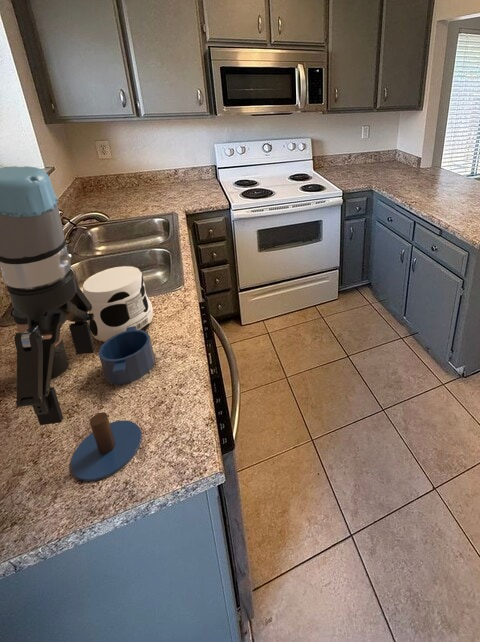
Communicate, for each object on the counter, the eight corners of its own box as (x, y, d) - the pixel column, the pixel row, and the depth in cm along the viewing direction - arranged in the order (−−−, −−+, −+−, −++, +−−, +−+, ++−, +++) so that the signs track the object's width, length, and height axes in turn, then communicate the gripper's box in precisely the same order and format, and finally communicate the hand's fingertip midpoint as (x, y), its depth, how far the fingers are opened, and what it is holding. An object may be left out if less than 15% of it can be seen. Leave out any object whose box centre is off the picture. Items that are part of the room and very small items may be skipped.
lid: (62, 492, 67) (48, 458, 64) (83, 433, 78) (72, 401, 75) (136, 471, 70) (127, 437, 67) (146, 417, 81) (138, 386, 78)
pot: (97, 400, 86) (89, 374, 84) (113, 352, 102) (107, 328, 99) (150, 387, 90) (144, 362, 87) (158, 343, 105) (153, 320, 102)
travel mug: (59, 356, 100) (39, 295, 94) (76, 365, 97) (56, 302, 90) (28, 375, 94) (4, 311, 87) (45, 385, 91) (21, 319, 84)
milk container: (102, 317, 117) (89, 269, 111) (158, 308, 121) (149, 261, 115) (84, 353, 101) (68, 299, 95) (150, 341, 106) (138, 288, 100)
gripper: (25, 336, 40) (64, 455, 49) (99, 234, 63) (117, 328, 71) (-55, 343, 39) (-1, 466, 47) (50, 235, 61) (74, 332, 69)
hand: (70, 383), depth 59 cm, fingers open, 13 cm apart
